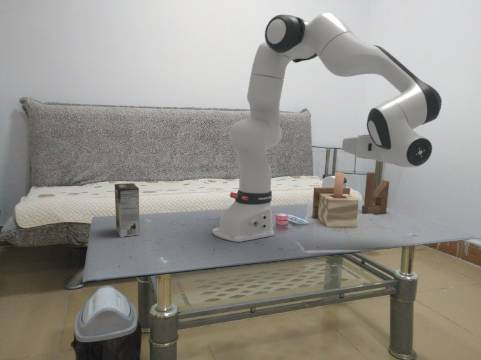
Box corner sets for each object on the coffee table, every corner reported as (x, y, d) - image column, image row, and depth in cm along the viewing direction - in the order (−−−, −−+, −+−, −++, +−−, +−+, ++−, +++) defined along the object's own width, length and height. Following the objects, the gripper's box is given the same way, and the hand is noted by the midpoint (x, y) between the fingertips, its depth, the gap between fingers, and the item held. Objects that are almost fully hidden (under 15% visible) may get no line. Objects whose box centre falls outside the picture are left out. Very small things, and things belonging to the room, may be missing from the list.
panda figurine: (350, 210, 162) (353, 177, 159) (331, 213, 156) (334, 178, 154) (331, 204, 172) (334, 173, 170) (313, 207, 167) (315, 174, 164)
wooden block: (386, 213, 159) (390, 172, 156) (367, 215, 154) (370, 173, 151) (380, 211, 162) (383, 171, 159) (361, 213, 158) (364, 172, 155)
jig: (374, 237, 125) (378, 200, 123) (329, 238, 123) (332, 200, 121) (347, 219, 147) (350, 187, 145) (309, 219, 145) (311, 187, 143)
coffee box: (115, 230, 125) (114, 183, 123) (134, 227, 128) (133, 182, 126) (119, 237, 117) (118, 188, 115) (140, 235, 120) (139, 187, 118)
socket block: (356, 226, 134) (358, 199, 132) (327, 226, 132) (329, 199, 131) (344, 218, 144) (346, 193, 143) (317, 218, 143) (319, 193, 141)
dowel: (338, 210, 135) (341, 173, 133) (331, 209, 138) (333, 172, 135) (343, 209, 138) (345, 172, 135) (335, 208, 140) (338, 171, 137)
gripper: (422, 136, 105) (397, 134, 119) (354, 135, 103) (336, 133, 116) (420, 158, 106) (395, 154, 120) (352, 157, 104) (335, 153, 117)
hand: (365, 143), depth 118 cm, fingers open, 8 cm apart
